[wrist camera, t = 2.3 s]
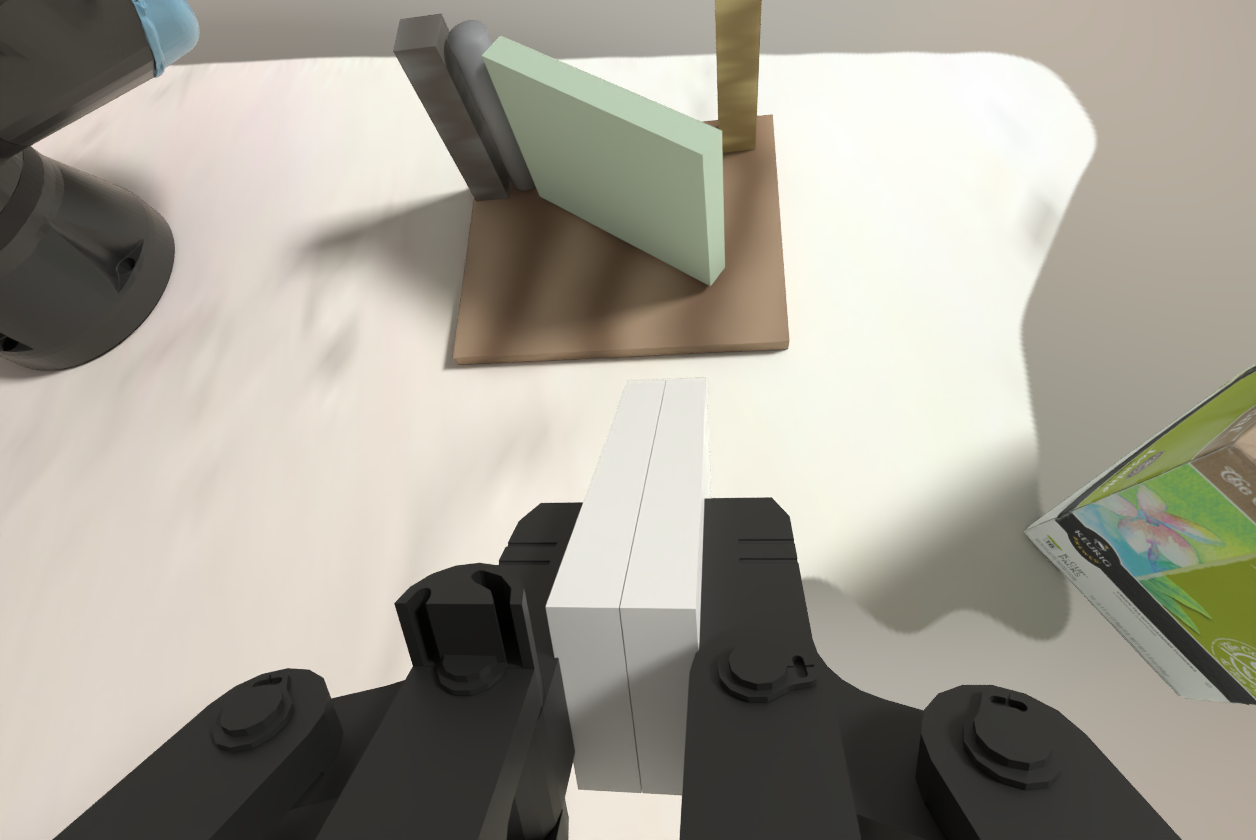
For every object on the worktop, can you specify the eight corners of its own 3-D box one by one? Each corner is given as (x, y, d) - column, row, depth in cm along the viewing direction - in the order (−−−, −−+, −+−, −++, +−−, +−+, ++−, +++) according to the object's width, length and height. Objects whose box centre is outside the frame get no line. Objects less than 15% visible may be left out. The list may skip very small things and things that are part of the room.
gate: (506, 182, 45) (439, 42, 35) (525, 160, 45) (465, 15, 35) (707, 290, 39) (698, 159, 29) (727, 263, 40) (725, 126, 30)
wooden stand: (458, 364, 42) (348, 243, 30) (486, 154, 48) (404, -16, 36) (787, 349, 39) (812, 207, 27) (771, 125, 45) (785, -71, 33)
